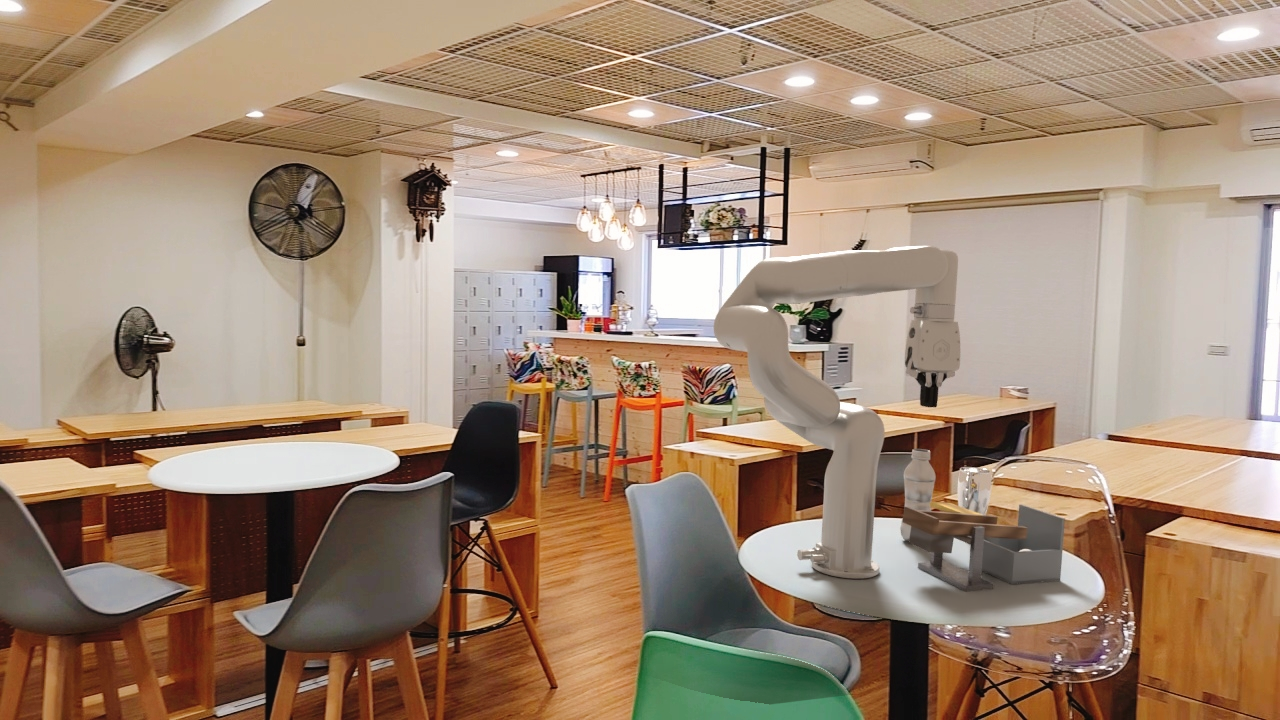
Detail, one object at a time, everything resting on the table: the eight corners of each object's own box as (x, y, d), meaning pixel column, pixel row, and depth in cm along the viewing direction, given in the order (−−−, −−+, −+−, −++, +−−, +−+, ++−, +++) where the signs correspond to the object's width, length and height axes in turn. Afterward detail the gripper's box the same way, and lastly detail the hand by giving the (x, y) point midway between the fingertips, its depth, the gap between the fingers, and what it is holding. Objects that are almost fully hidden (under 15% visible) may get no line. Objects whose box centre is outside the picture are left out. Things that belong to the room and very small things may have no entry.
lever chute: (929, 554, 157) (934, 518, 157) (869, 526, 175) (874, 494, 175) (1022, 559, 164) (1028, 525, 164) (956, 532, 182) (960, 501, 182)
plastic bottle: (928, 548, 185) (934, 454, 183) (896, 542, 188) (901, 450, 186) (934, 541, 190) (940, 450, 189) (903, 536, 193) (908, 446, 192)
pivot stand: (965, 591, 157) (970, 530, 156) (917, 567, 170) (921, 511, 170) (993, 589, 159) (997, 528, 158) (943, 565, 172) (947, 509, 171)
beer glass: (952, 536, 194) (956, 470, 193) (956, 530, 201) (961, 465, 200) (985, 542, 191) (990, 474, 190) (989, 535, 197) (993, 469, 196)
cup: (1011, 584, 162) (1016, 521, 161) (971, 566, 173) (975, 506, 172) (1060, 580, 166) (1064, 518, 165) (1017, 563, 176) (1021, 504, 175)
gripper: (913, 312, 166) (907, 409, 167) (978, 315, 170) (972, 409, 172) (890, 311, 173) (884, 404, 174) (953, 314, 177) (947, 404, 179)
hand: (928, 406), depth 173 cm, fingers closed
